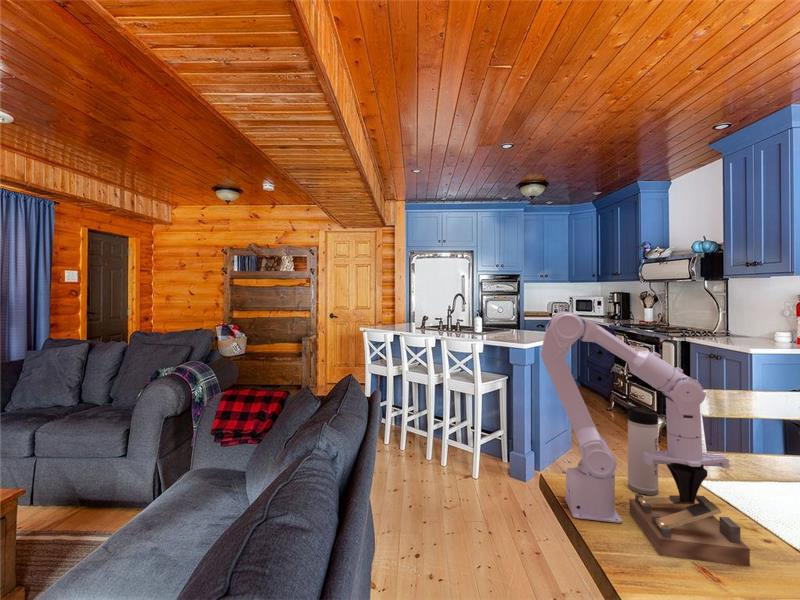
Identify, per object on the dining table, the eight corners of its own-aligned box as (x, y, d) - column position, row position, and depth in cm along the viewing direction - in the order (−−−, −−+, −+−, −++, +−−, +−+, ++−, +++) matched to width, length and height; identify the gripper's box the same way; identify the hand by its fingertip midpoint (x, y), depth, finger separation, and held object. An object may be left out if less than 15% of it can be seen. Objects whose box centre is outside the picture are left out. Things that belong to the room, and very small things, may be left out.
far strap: (643, 508, 78) (642, 501, 78) (637, 501, 81) (637, 495, 81) (701, 508, 76) (700, 501, 76) (694, 502, 78) (693, 495, 78)
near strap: (662, 532, 70) (659, 525, 70) (656, 524, 73) (653, 517, 73) (722, 514, 68) (718, 506, 68) (713, 506, 71) (710, 499, 71)
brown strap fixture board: (659, 555, 69) (659, 522, 69) (629, 512, 82) (629, 486, 82) (749, 566, 66) (749, 532, 66) (703, 520, 80) (703, 492, 80)
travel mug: (622, 481, 96) (622, 403, 97) (651, 484, 95) (651, 404, 95) (632, 494, 90) (632, 410, 90) (663, 497, 89) (663, 411, 89)
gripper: (653, 439, 75) (656, 508, 75) (737, 442, 72) (741, 513, 72) (638, 427, 82) (641, 490, 82) (715, 429, 79) (718, 495, 79)
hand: (686, 500), depth 78 cm, fingers closed, pressing on far strap
